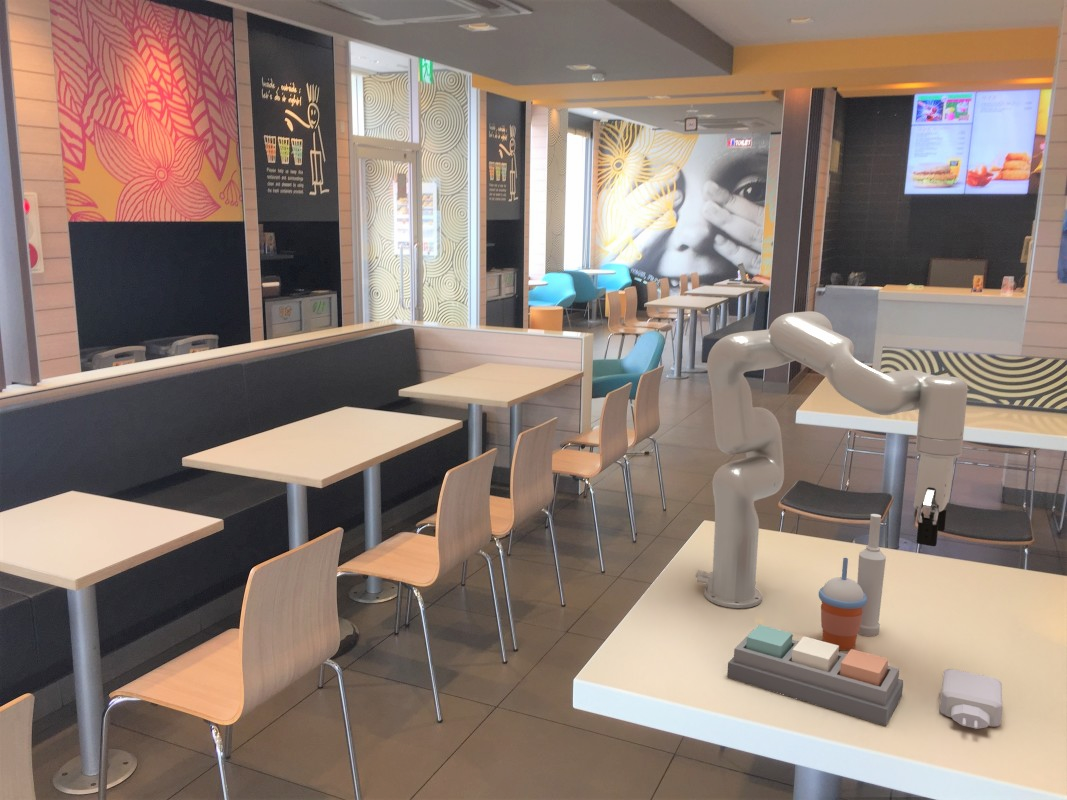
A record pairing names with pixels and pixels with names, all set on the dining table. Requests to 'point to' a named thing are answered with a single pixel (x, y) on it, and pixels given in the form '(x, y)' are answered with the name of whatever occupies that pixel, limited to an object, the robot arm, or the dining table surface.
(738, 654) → the keypad
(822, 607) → the cup with straw
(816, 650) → the cream key
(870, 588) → the bottle
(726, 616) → the dining table surface
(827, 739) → the dining table surface
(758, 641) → the teal key
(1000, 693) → the charger
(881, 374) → the robot arm
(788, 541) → the dining table surface
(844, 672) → the terracotta key
